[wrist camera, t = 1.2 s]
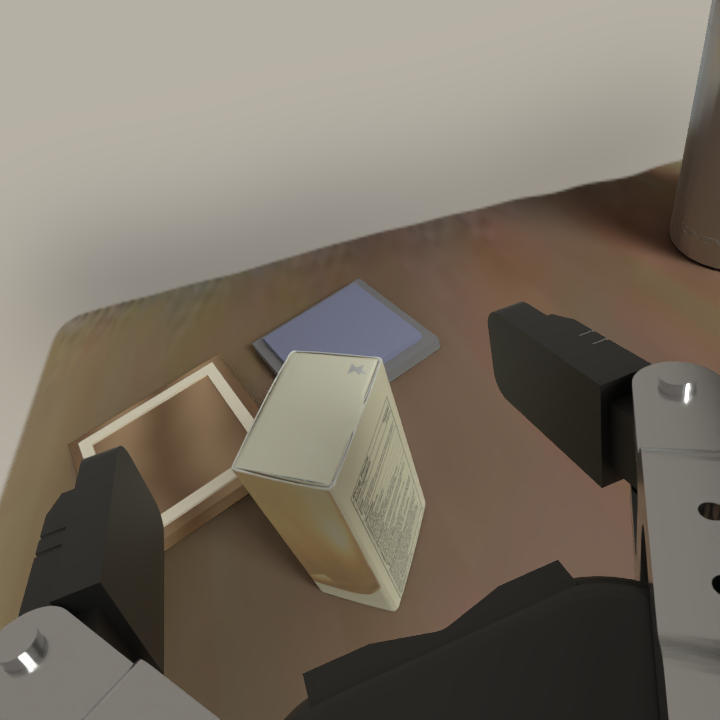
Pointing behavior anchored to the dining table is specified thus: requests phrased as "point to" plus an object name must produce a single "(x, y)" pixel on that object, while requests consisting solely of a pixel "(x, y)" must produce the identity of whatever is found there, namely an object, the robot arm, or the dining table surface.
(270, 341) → the ink pad
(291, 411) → the skincare box
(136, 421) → the marked board
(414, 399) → the dining table surface
